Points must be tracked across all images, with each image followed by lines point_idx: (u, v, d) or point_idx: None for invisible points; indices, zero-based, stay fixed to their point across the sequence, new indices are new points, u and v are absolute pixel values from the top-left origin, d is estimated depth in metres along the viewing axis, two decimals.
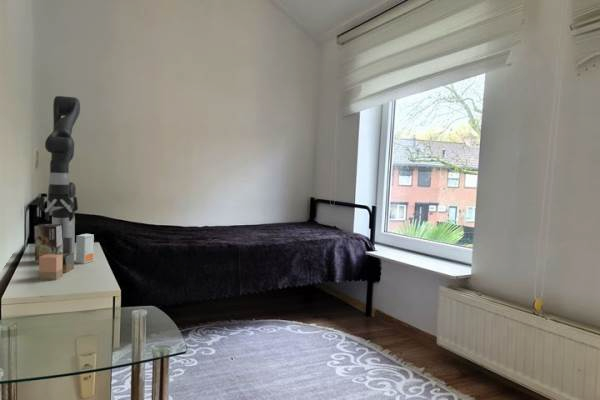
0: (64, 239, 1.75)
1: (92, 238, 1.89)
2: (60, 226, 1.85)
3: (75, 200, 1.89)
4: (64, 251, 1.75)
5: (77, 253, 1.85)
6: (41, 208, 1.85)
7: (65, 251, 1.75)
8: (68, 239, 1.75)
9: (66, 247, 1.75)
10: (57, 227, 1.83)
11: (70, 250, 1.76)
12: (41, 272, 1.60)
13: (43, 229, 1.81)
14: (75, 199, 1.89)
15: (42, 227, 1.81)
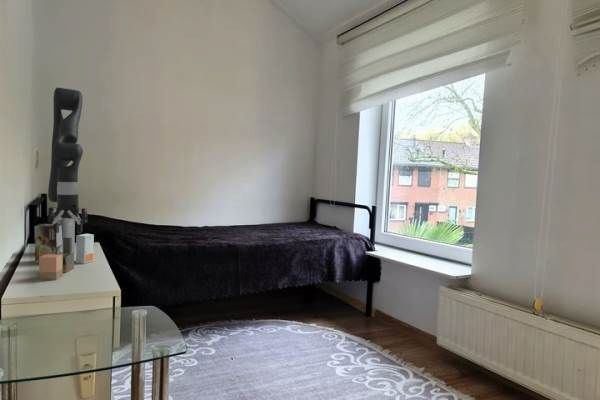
0: (64, 239, 1.75)
1: (92, 238, 1.89)
2: (60, 226, 1.85)
3: None
4: (64, 251, 1.75)
5: (77, 253, 1.85)
6: None
7: (65, 251, 1.75)
8: (68, 239, 1.75)
9: (66, 247, 1.75)
10: None
11: (70, 250, 1.76)
12: (41, 272, 1.60)
13: (43, 229, 1.81)
14: None
15: (42, 227, 1.81)
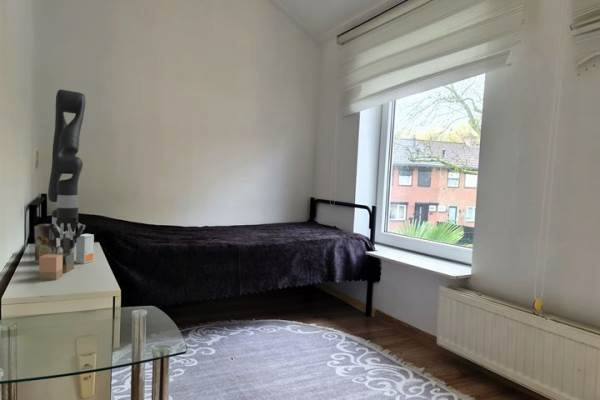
0: (64, 239, 1.75)
1: (92, 238, 1.89)
2: None
3: None
4: (64, 251, 1.75)
5: (77, 253, 1.85)
6: None
7: (65, 251, 1.75)
8: (68, 239, 1.75)
9: (66, 247, 1.75)
10: (57, 227, 1.83)
11: (70, 250, 1.76)
12: (41, 272, 1.60)
13: (43, 229, 1.81)
14: None
15: (42, 227, 1.81)
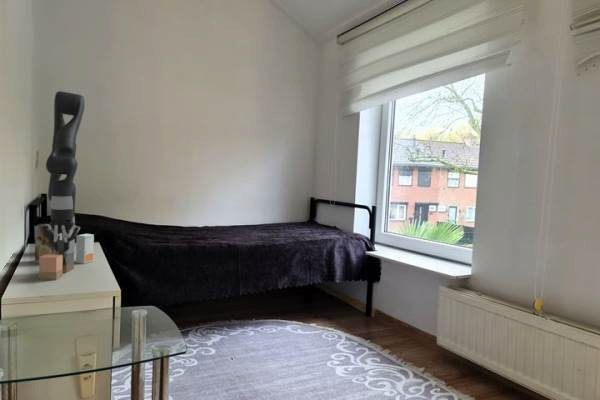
0: (58, 241, 1.70)
1: (92, 238, 1.89)
2: None
3: None
4: (59, 254, 1.70)
5: (77, 253, 1.85)
6: None
7: (59, 254, 1.70)
8: (62, 241, 1.70)
9: (60, 250, 1.70)
10: None
11: (64, 253, 1.71)
12: (41, 272, 1.60)
13: (43, 229, 1.81)
14: None
15: (42, 227, 1.81)
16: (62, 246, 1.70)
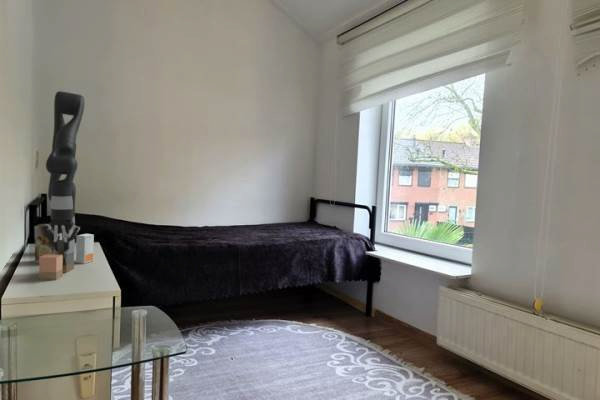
0: (58, 241, 1.69)
1: (92, 238, 1.89)
2: None
3: None
4: (59, 254, 1.70)
5: (77, 253, 1.85)
6: None
7: (59, 254, 1.70)
8: (62, 241, 1.70)
9: (60, 250, 1.70)
10: None
11: (64, 253, 1.71)
12: (41, 272, 1.60)
13: (43, 229, 1.81)
14: None
15: (42, 227, 1.81)
16: (62, 246, 1.70)
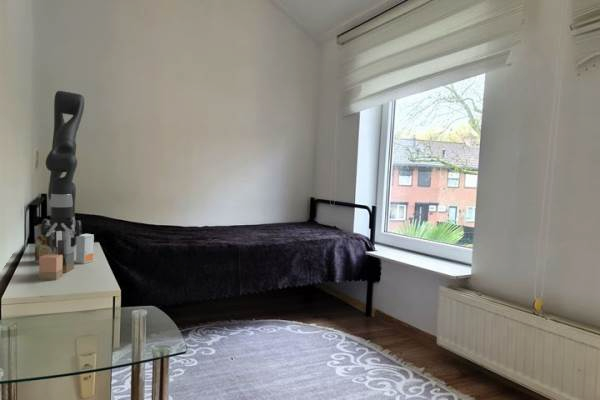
0: (58, 241, 1.69)
1: (92, 238, 1.89)
2: None
3: None
4: (59, 254, 1.70)
5: (77, 253, 1.85)
6: None
7: (59, 254, 1.70)
8: (62, 241, 1.70)
9: (60, 250, 1.70)
10: None
11: (64, 253, 1.71)
12: (41, 272, 1.60)
13: None
14: None
15: None
16: (62, 246, 1.70)
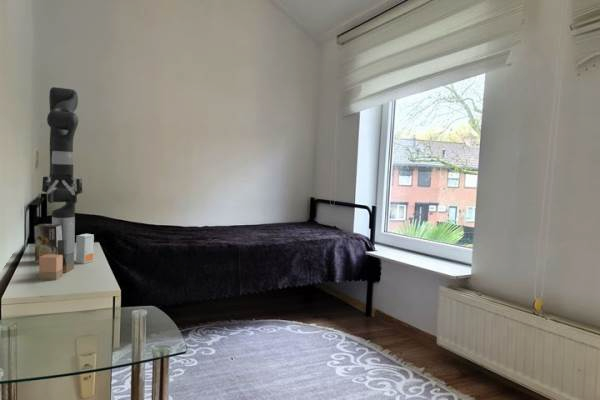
0: (58, 241, 1.69)
1: (92, 238, 1.89)
2: (60, 226, 1.85)
3: None
4: (59, 254, 1.70)
5: (77, 253, 1.85)
6: None
7: (59, 254, 1.70)
8: (62, 241, 1.70)
9: (60, 250, 1.70)
10: (57, 227, 1.83)
11: (64, 253, 1.71)
12: (41, 272, 1.60)
13: (43, 229, 1.81)
14: None
15: (42, 227, 1.81)
16: (62, 246, 1.70)
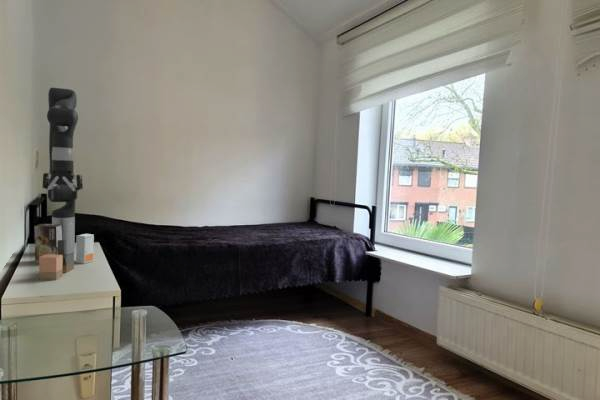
0: (58, 241, 1.69)
1: (92, 238, 1.89)
2: (60, 226, 1.85)
3: None
4: (59, 254, 1.70)
5: (77, 253, 1.85)
6: None
7: (59, 254, 1.70)
8: (62, 241, 1.70)
9: (60, 250, 1.70)
10: (57, 227, 1.83)
11: (64, 253, 1.71)
12: (41, 272, 1.60)
13: (43, 229, 1.81)
14: None
15: (42, 227, 1.81)
16: (62, 246, 1.70)
